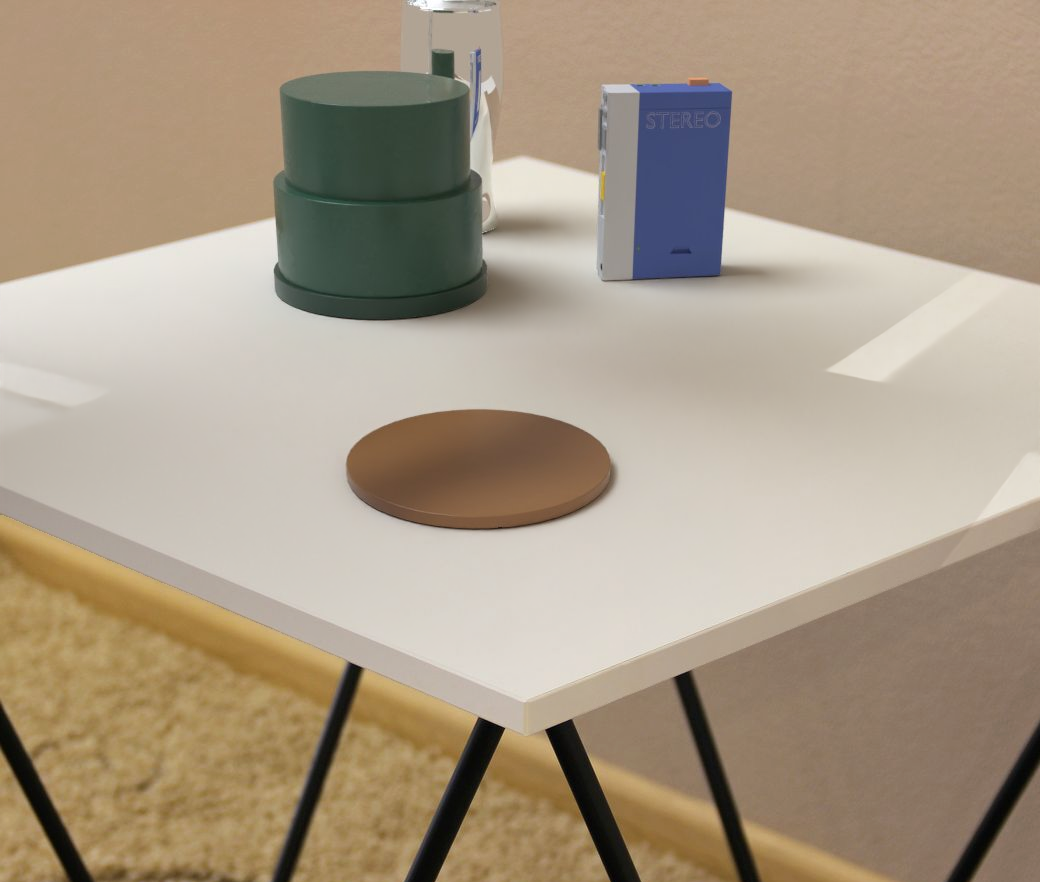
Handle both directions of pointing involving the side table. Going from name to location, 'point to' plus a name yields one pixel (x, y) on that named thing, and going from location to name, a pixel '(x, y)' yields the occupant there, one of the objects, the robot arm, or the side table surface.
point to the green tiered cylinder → (377, 196)
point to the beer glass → (462, 68)
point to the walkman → (662, 179)
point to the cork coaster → (478, 468)
